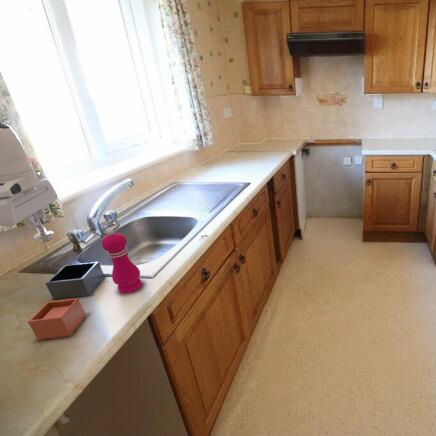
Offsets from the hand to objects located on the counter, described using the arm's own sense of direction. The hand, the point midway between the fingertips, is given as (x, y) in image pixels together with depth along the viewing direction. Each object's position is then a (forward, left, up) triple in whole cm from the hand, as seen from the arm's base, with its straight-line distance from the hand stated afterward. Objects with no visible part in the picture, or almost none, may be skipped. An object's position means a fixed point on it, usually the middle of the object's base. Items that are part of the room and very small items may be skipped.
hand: (39, 226), depth 96 cm
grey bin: (+7, -5, -20) cm, 22 cm away
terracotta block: (+12, -23, -19) cm, 33 cm away
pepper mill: (+23, -8, -20) cm, 32 cm away
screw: (0, 0, -5) cm, 5 cm away
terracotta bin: (+12, -23, -20) cm, 33 cm away
